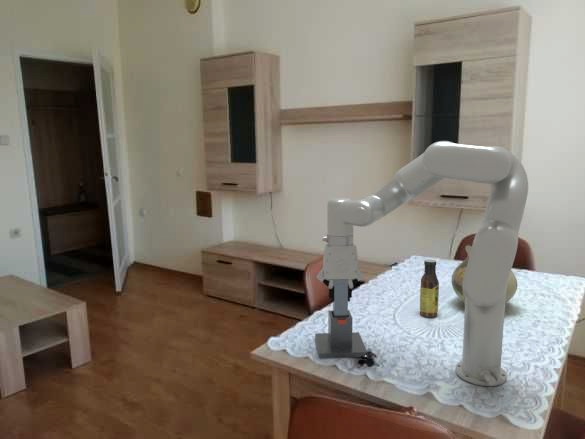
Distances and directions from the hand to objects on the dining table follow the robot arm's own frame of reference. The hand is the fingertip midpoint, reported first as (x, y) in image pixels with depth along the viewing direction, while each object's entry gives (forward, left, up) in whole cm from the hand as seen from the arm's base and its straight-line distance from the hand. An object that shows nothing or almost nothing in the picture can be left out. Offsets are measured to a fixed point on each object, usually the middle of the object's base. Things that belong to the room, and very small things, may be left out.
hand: (340, 299), depth 140 cm
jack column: (0, 0, -12) cm, 12 cm away
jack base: (0, 0, -15) cm, 15 cm away
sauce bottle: (+24, -35, -15) cm, 45 cm away
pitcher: (+31, -57, -15) cm, 67 cm away
